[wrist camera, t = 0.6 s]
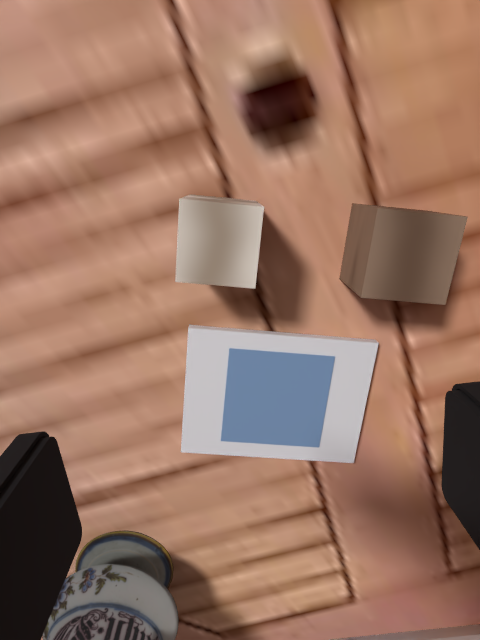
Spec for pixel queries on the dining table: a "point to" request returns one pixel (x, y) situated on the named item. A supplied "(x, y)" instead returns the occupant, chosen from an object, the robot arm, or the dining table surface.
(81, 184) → the dining table surface
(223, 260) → the ash pillar
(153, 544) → the apothecary jar
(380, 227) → the walnut cube
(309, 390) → the board
